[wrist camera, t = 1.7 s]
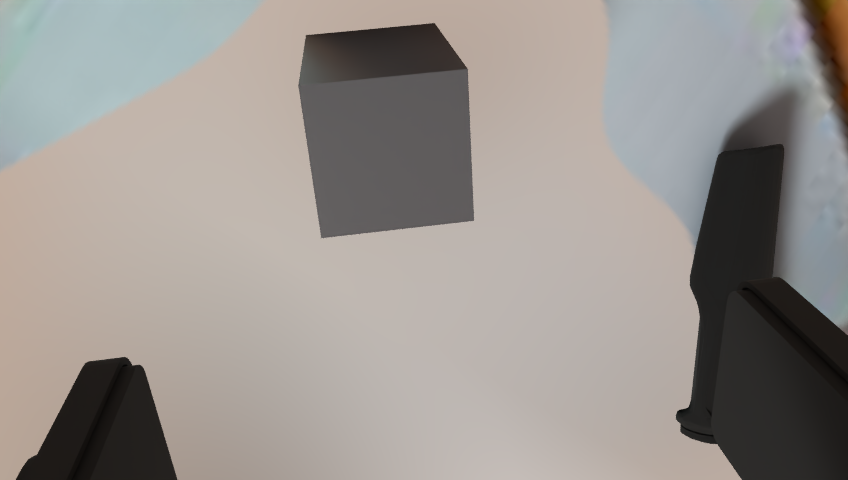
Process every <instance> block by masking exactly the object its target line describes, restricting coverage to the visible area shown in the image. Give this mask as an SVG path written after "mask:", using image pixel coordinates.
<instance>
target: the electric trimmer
mask: <svg viewBox="0 0 848 480" xmlns="http://www.w3.org/2000/svg"><path fill="white" fill-rule="evenodd" d="M783 159H784V147H783V145H781V144H776V145H770V146H764V147H758V148H751V149H744V150H735V151H726V152H722V153H721V154H719V155H718V158H717V161H716V165H715V169H714V174H713V178H712V182H711V186H710V190H709V195H708V199H707V203H706V207H705V212H704V216H703V220H702V224H701V228H700V233H699V237H698V241H697V245H696V250H695V255H694V260H693V265H692V270H691V274H690V287H691V289H692V292H693V294H694V296H695V299H696V301H697V304H698V308H699V313H700V322H699V331H698V340H697V349H696V360H695V368H694V378H693V387H692V397H691V402H690V405H689V407H688V408H686V409H681V410H679V411H677V414H676V419H677V421H678V422H679V423H681V429H680V430H681V433H682V434H684V435H686V436H688V437H690V438H692V439H695V440H698V441H701V442H705V443H710V444H717V443H716V441H715V439H714V436H713V433H712V428H711V417H712V409H713V402H714V395H715V387H716V380H717V372H718V365H719V357H720V350H721V343H722V335H723V328H724V320H725V313H726V306H727V299H728V296H729V294H730V293H731V292H733V291H737V287H738V286H739V284H740V283H741V282H743V281H748V280H757V279H765V278H772V274H773V264H774V253H775V242H776V232H777V221H778V211H779V201H780V190H781V180H782V170H783Z"/></svg>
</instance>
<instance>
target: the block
mask: <svg viewBox="0 0 848 480" xmlns="http://www.w3.org/2000/svg"><path fill="white" fill-rule="evenodd" d="M299 92H300V99H301V106H302V112H303V119H304V126H305V132H306V139H307V145H308V151H309V159H310V166H311V172H312V179H313V185H314V192H315V199H316V205H317V212H318V218H319V225H320V232H321V238H326V237H335V236H344V235H352V234H361V233H370V232H379V231H388V230H396V229H405V228H413V227H423V226H432V225H440V224H448V223H458V222H467V221H474V210H473V186H472V163H471V141H470V140H471V139H470V116H469V91H468V69H467V67H466V66H465V65H464V63H463V62H462V61H461V59H460V58H459V56H458V55H457V54H456V52H455V51H454V50H453V48H452V47H451V45H450V44H449V43H448V41H447V40H446V39H445V37H444V36H443V35H442V33H441V32H440V30H439V29H438V27H437V26H436V25H435V23H432V24H421V25H411V26H400V27H389V28H378V29H368V30H358V31H346V32H337V33H325V34H314V35H306V39H305V46H304V53H303V59H302V66H301V72H300V79H299Z"/></svg>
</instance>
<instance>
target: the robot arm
mask: <svg viewBox="0 0 848 480" xmlns="http://www.w3.org/2000/svg"><path fill="white" fill-rule="evenodd" d="M711 428H712V433H713V436H714V439H715V441H716V443H717V444H718V446H719V447H720V449H721V450H722V452H723V453H724V454H725V456H726V457H727V459H728V460H729V462H730V463H731V465H732V466H733V468H734V469H735V470H736V472H737V473H738V475H739V476H740V478H741V479H742V480H848V335H846V334H845V333H844V332H843V331H842V330H841V329H840V328H838V327H837V326H836V325H835V324H834V323H833V322H831V321H830V320H829V319H828V318H827V317H826V316H825V315H823V314H822V313H821V312H820V311H819V310H818V309H817V308H815V307H814V306H813V305H812V304H811V303H810V302H808V301H807V300H806V299H805V298H804V297H803V296H802V295H800V294H799V293H798V292H797V291H796V290H795V289H793V288H792V287H791V286H790V285H789V284H788V283H787V282H785V281H784V280H783V279H781V278H779V277H773V278H765V279H757V280H748V281H743V282H741V283H740V284H739V286H738V287H737V291H733V292H731V293H730V294H729V296H728V299H727V306H726V313H725V320H724V328H723V335H722V343H721V350H720V357H719V365H718V372H717V380H716V387H715V395H714V402H713V409H712V417H711ZM16 480H177V477H176V474H175V470H174V467H173V464H172V461H171V457H170V454H169V450H168V447H167V444H166V440H165V437H164V433H163V430H162V427H161V423H160V420H159V417H158V413H157V410H156V407H155V403H154V400H153V397H152V394H151V390H150V387H149V383H148V380H147V377H146V373H145V371H144V368H143V367H142V366H141V365H134V366H132V364H131V362H130V361H129V359H128V358H126V357H122V358H114V359H106V360H98V361H89V362H87V363H85V365H84V366H83V368H82V369H81V371H80V373H79V375H78V377H77V379H76V381H75V383H74V385H73V387H72V389H71V390H70V393H69V394H68V396H67V398H66V400H65V402H64V404H63V406H62V408H61V410H60V412H59V413H58V415H57V417H56V419H55V421H54V423H53V425H52V427H51V429H50V431H49V433H48V435H47V437H46V439H45V441H44V442H43V444H42V446H41V448H40V450H39V452H38V454H37V455H35V456H33V457H31V458H30V459H28V461H27V462H26V463H25V465H24V466H23V467H22V469H21V471H20V473H19V475H18V477H17V478H16Z"/></svg>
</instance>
